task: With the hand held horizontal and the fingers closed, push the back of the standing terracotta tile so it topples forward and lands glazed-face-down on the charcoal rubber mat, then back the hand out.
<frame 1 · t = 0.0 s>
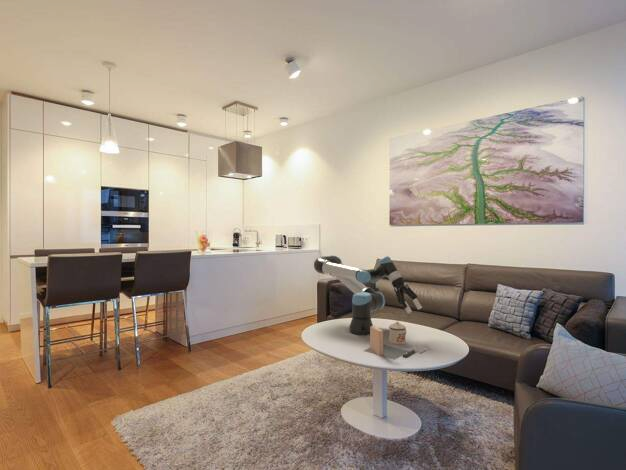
hand: (415, 310, 206), 15 cm above the table, tool tilted 35°, fingers open, 13 cm apart
mat: (386, 352, 179), on the table
turner: (414, 352, 178), on the table
tile: (376, 352, 177), point 1 cm above the table, touching mat
teacup with lid: (398, 342, 195), on the table
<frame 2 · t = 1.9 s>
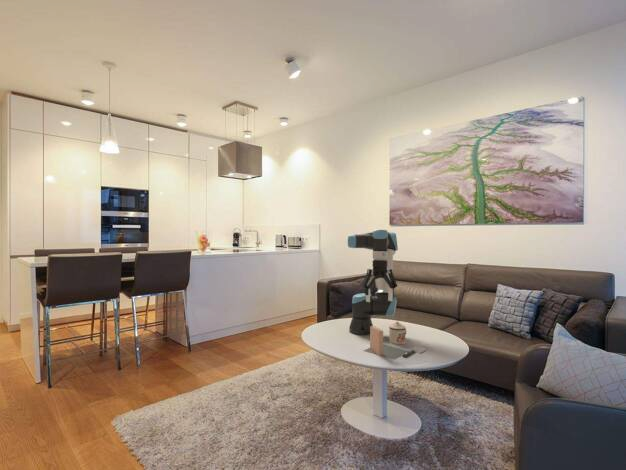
hand: (379, 301, 178), 26 cm above the table, tool pointing down, fingers open, 13 cm apart
nothing on the table moved.
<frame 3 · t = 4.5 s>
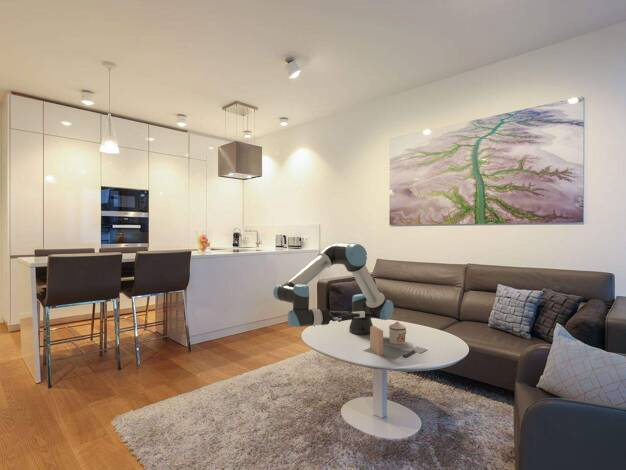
hand: (364, 314, 174), 20 cm above the table, tool horizontal, fingers closed
nothing on the table moved.
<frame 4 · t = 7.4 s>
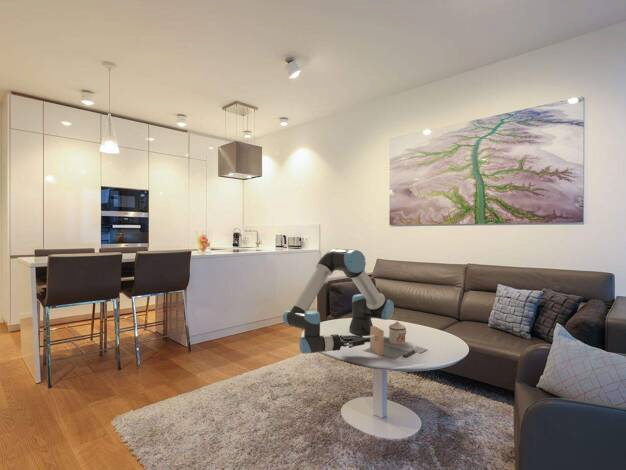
hand: (374, 338, 176), 8 cm above the table, tool horizontal, fingers closed
tile: (376, 352, 177), point 1 cm above the table, touching gripper, mat
everything else where it was.
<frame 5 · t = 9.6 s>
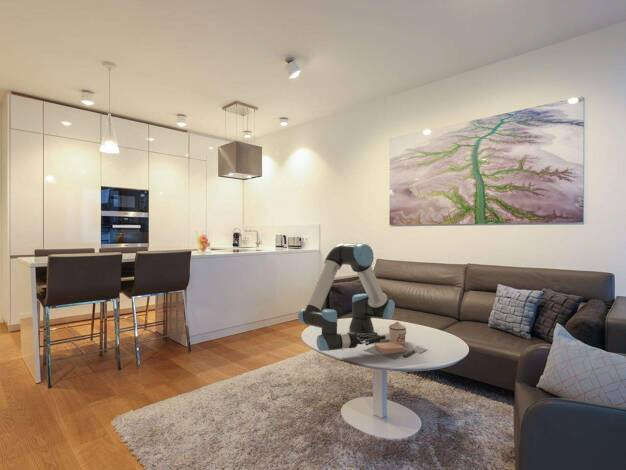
hand: (389, 336, 179), 8 cm above the table, tool horizontal, fingers closed
tile: (378, 349, 177), point 2 cm above the table, tilted 90°, touching mat
everything else where it was.
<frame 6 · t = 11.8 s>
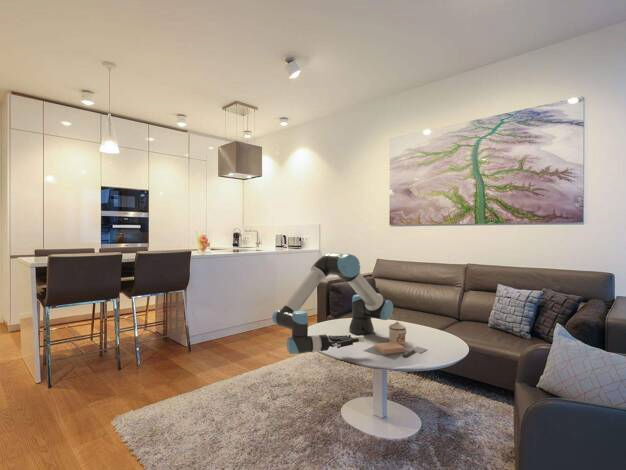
hand: (363, 338, 174), 8 cm above the table, tool horizontal, fingers closed
nothing on the table moved.
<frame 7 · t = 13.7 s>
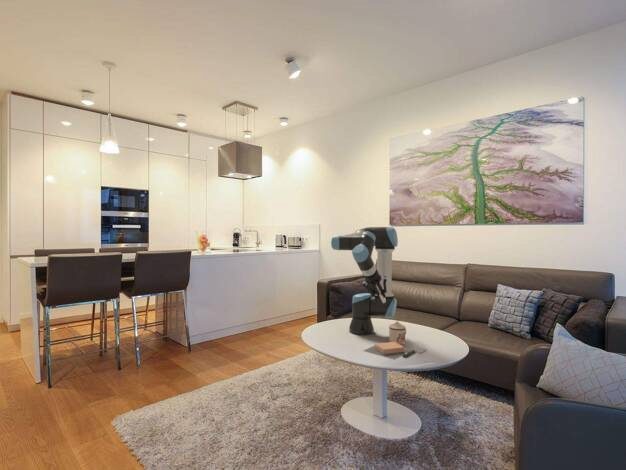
hand: (384, 300, 185), 25 cm above the table, tool tilted 45°, fingers closed
nothing on the table moved.
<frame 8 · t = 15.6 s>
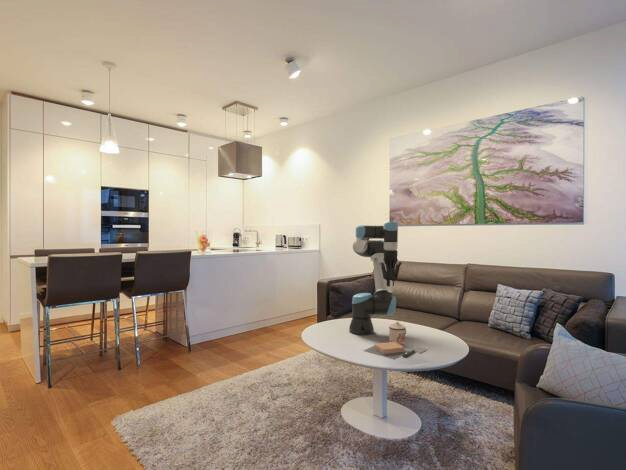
hand: (390, 292, 193), 28 cm above the table, tool pointing down, fingers closed
nothing on the table moved.
at the end: tile tilted 90°; tile inside the target area (5.2 cm from its centre), point 2.0 cm above the table; the gripper is holding nothing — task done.
